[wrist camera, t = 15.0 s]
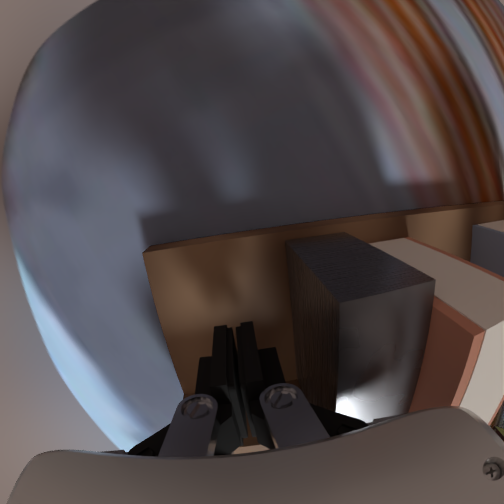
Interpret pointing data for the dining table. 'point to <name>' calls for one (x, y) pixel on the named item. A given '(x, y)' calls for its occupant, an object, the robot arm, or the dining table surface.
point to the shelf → (272, 280)
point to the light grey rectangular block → (488, 246)
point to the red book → (458, 331)
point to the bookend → (357, 325)
